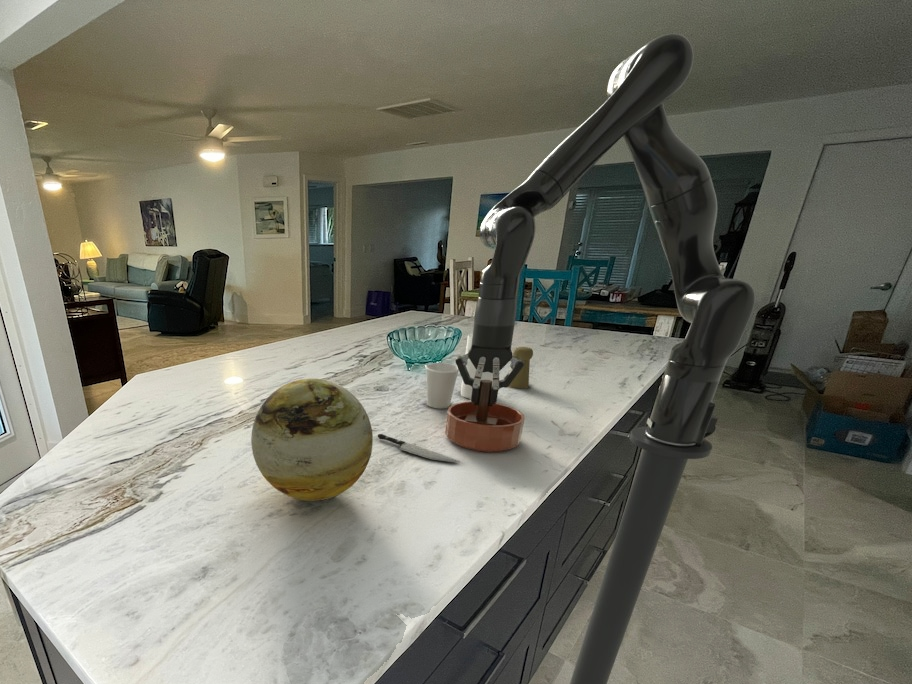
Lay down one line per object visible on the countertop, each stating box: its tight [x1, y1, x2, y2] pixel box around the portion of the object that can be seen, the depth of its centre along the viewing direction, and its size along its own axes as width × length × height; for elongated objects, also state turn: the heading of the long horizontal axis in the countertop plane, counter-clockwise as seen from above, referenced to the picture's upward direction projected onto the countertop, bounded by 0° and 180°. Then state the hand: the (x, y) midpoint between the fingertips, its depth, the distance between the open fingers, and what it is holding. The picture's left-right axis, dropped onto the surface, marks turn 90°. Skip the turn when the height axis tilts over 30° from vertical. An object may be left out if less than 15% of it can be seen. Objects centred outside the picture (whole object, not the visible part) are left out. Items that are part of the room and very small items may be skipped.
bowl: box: [444, 400, 525, 453], centre depth 99 cm, size 15×15×6 cm
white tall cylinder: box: [460, 333, 493, 400], centre depth 124 cm, size 8×8×16 cm
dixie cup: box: [424, 362, 459, 409], centre depth 119 cm, size 8×8×10 cm
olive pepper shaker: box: [508, 346, 534, 389], centre depth 133 cm, size 6×6×11 cm
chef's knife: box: [377, 433, 460, 463], centre depth 95 cm, size 19×1×3 cm
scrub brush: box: [464, 380, 498, 426], centre depth 99 cm, size 6×4×12 cm
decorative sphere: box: [250, 378, 374, 502], centre depth 77 cm, size 20×20×20 cm
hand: (483, 404), depth 99 cm, fingers closed on scrub brush, 2 cm apart
